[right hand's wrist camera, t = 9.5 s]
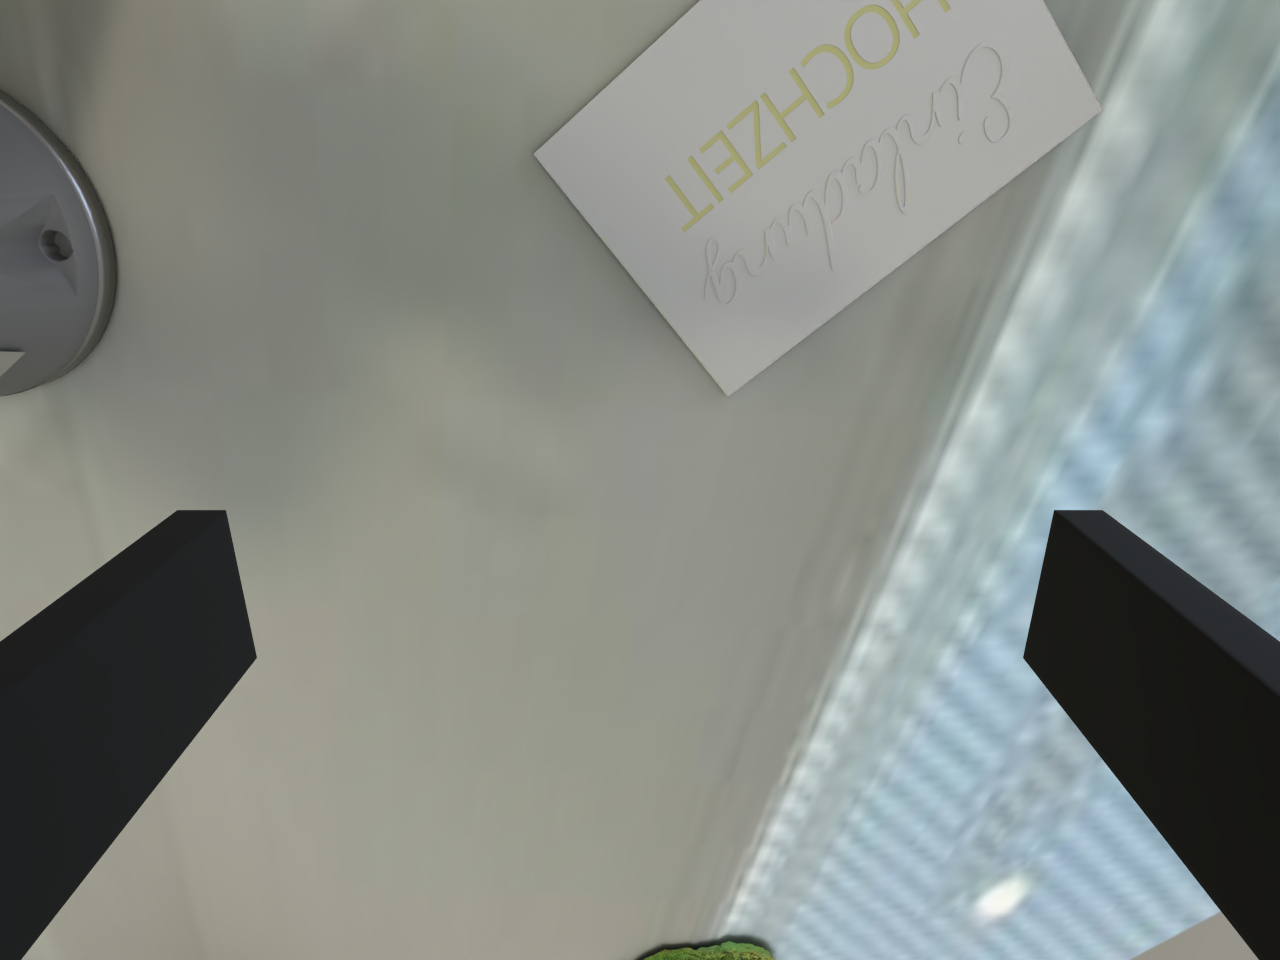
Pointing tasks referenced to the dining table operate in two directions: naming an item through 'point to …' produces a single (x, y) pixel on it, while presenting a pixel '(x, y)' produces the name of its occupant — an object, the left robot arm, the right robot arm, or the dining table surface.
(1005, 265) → the dining table surface
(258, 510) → the dining table surface
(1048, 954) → the dining table surface
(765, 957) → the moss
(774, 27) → the invitation card
